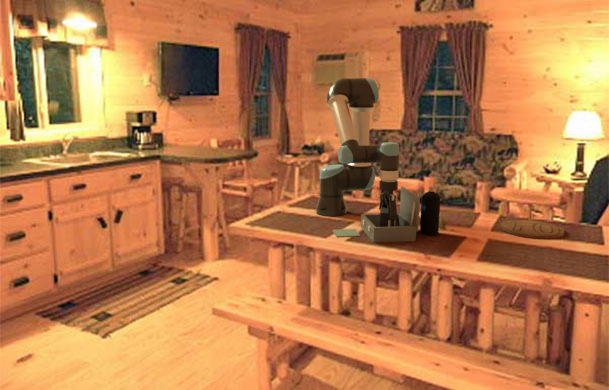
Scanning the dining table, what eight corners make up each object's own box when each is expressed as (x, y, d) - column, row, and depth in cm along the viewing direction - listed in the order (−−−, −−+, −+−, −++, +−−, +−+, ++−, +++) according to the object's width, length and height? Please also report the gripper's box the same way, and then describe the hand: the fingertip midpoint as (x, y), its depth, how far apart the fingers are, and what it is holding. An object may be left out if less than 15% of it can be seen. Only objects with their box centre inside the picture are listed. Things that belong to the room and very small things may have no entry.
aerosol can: (439, 231, 220) (442, 185, 216) (438, 236, 212) (440, 189, 208) (420, 229, 222) (422, 184, 218) (418, 234, 215) (420, 188, 211)
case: (359, 227, 226) (360, 187, 222) (401, 226, 228) (402, 186, 224) (372, 242, 204) (373, 198, 201) (417, 240, 206) (419, 197, 203)
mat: (332, 230, 221) (332, 229, 221) (355, 229, 223) (355, 228, 222) (336, 237, 212) (336, 236, 212) (360, 236, 213) (360, 235, 213)
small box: (394, 237, 210) (395, 213, 208) (378, 237, 212) (379, 212, 210) (395, 230, 221) (396, 207, 218) (380, 230, 222) (380, 206, 220)
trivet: (500, 236, 213) (501, 232, 213) (500, 222, 236) (500, 218, 236) (567, 242, 205) (568, 238, 204) (560, 226, 228) (561, 222, 227)
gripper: (372, 175, 223) (371, 223, 227) (387, 185, 199) (386, 239, 204) (389, 175, 223) (388, 223, 228) (406, 185, 200) (404, 238, 205)
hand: (387, 231), depth 216 cm, fingers closed on small box, 11 cm apart
